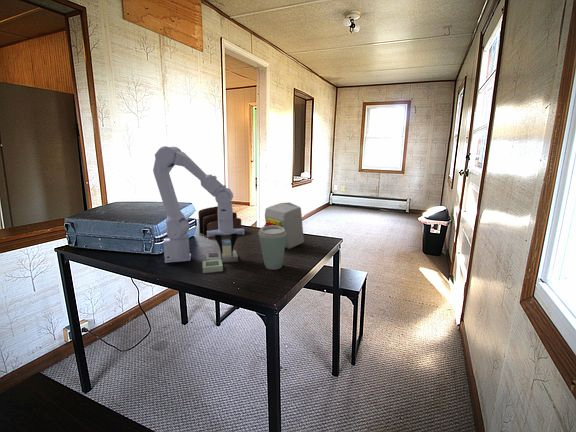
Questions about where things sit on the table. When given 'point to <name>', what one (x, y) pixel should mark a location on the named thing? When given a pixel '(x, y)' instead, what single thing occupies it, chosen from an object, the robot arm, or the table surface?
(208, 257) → the panel
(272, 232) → the disposable coffee cup
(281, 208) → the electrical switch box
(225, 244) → the plug
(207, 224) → the letter holder
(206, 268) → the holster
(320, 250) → the table surface
